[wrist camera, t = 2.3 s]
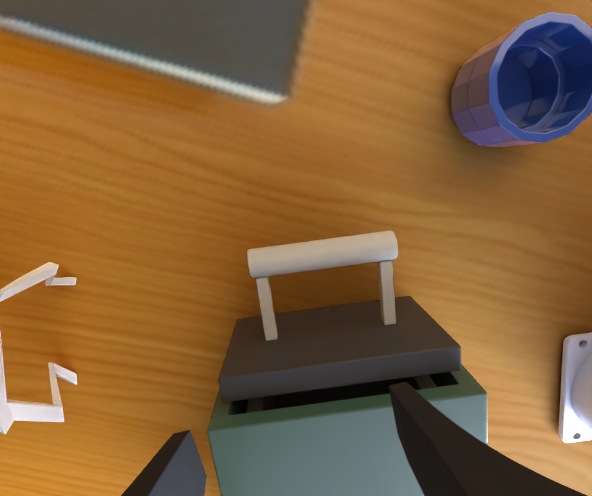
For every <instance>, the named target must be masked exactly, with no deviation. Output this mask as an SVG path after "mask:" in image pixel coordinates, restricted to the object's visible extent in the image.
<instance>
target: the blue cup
mask: <svg viewBox="0 0 592 496" xmlns="http://www.w3.org/2000/svg"><path fill="white" fill-rule="evenodd" d="M451 110H452V117H453V119H454V120H455V122H456V124H457V126H458V128H459V130H460V132H461V133H462V135H464V136H465V137H467V138H468V139H470V140H471V141H472V142H474V143H475V144H477V145H480V146H489V147H506V146H515V145H526V144H536V143H544V142H548V141H551V140H553V139H556V138H559V137H562V136H564V135H567V134H569V133H571V132H572V131H573V130H574V129H575V128H576V127H577V126H578V125H579V124H581V123H582V122H583V121H584V120H585V119H586V118H587V117H588V116H589V115H590V114H591V113H592V28H591V27H590V26H589V25H588V24H587V23H585V22H584V21H583V20H582V19H580V18H579V17H578V16H576V15H571V14H563V13H556V12H547V13H545V14H542V15H539V16H537V17H534V18H532V19H529V20H526V21H524V22H522V23H520V24H519V25H517V26H515V27H514V28H512V29H511V30H509V31H507V32H506V33H504V34H503V35H501V36H499V37H498V38H496V39H495V40H493V41H491V42H490V43H488V44H487V45H485V46H483V47H482V48H480V49H479V50H477V51H476V52H475V53H474V54H473V55H472V56H471V57H470V58H469V59H468V60H467V61H466V62H465V63H464V64H463V65H462V66H461V68H460V70H459V72H458V75H457V77H456V80H455V82H454V85H453V87H452V91H451Z"/></svg>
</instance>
